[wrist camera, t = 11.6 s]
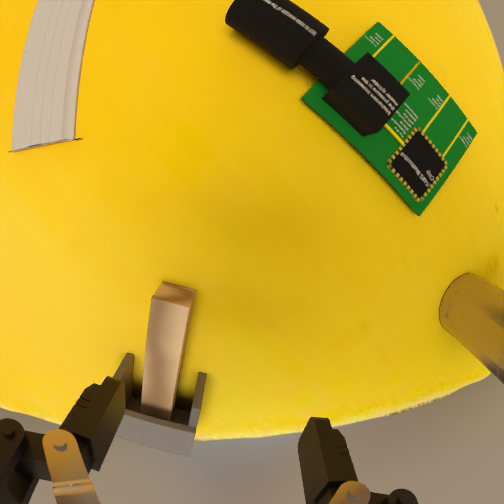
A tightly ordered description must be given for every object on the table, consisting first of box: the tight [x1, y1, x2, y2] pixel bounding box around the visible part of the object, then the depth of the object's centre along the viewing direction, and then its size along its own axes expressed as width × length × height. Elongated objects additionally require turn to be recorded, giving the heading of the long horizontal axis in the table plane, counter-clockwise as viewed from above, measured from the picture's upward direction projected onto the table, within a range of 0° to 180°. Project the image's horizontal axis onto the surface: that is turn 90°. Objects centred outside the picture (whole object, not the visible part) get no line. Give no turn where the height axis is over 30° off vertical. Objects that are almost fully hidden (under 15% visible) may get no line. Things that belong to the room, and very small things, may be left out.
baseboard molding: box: [10, 0, 95, 152], centre depth 25 cm, size 31×3×12 cm
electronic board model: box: [225, 0, 477, 216], centre depth 25 cm, size 30×7×15 cm
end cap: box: [113, 353, 206, 457], centre depth 34 cm, size 11×9×8 cm
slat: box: [141, 282, 196, 421], centre depth 34 cm, size 4×18×5 cm, turn 166°
